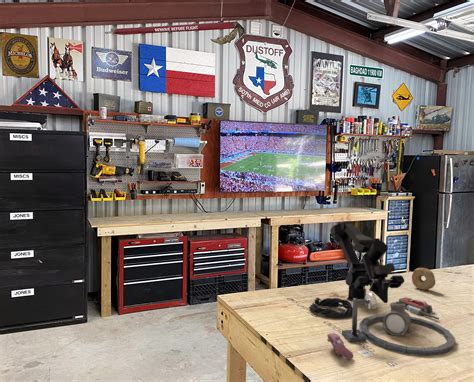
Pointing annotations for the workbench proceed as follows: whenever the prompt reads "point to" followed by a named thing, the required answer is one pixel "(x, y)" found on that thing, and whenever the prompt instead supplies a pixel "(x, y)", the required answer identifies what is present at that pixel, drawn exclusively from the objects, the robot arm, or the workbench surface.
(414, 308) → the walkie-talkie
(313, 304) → the cable
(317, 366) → the workbench surface
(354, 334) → the stand
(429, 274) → the stone disc
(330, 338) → the purple elongated lump
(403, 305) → the pipe fitting
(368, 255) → the robot arm
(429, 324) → the ring
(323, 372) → the workbench surface
